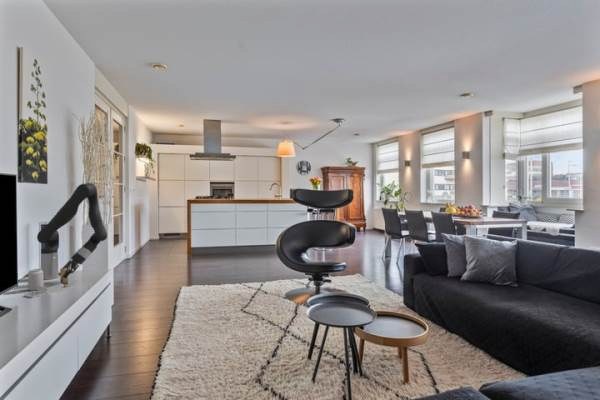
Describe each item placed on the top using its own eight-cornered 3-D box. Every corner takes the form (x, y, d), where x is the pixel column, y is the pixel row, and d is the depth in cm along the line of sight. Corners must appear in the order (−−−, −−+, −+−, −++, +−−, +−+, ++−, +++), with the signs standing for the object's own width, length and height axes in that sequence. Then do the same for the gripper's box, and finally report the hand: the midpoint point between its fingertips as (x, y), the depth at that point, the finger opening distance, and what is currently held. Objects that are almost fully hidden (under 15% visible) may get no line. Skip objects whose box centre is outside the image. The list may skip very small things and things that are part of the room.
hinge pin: (59, 284, 223) (58, 268, 222) (65, 283, 226) (65, 267, 226) (63, 285, 221) (62, 269, 221) (69, 283, 225) (69, 268, 224)
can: (45, 289, 213) (44, 269, 213) (29, 292, 208) (28, 271, 207) (42, 287, 218) (41, 267, 218) (27, 289, 213) (26, 269, 212)
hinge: (24, 296, 200) (23, 289, 200) (66, 285, 220) (66, 279, 220) (33, 298, 196) (32, 290, 196) (75, 287, 216) (74, 280, 216)
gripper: (73, 250, 233) (53, 271, 225) (80, 253, 224) (60, 274, 216) (82, 257, 238) (63, 278, 229) (90, 260, 228) (70, 281, 220)
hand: (61, 276), depth 223 cm, fingers open, 8 cm apart
